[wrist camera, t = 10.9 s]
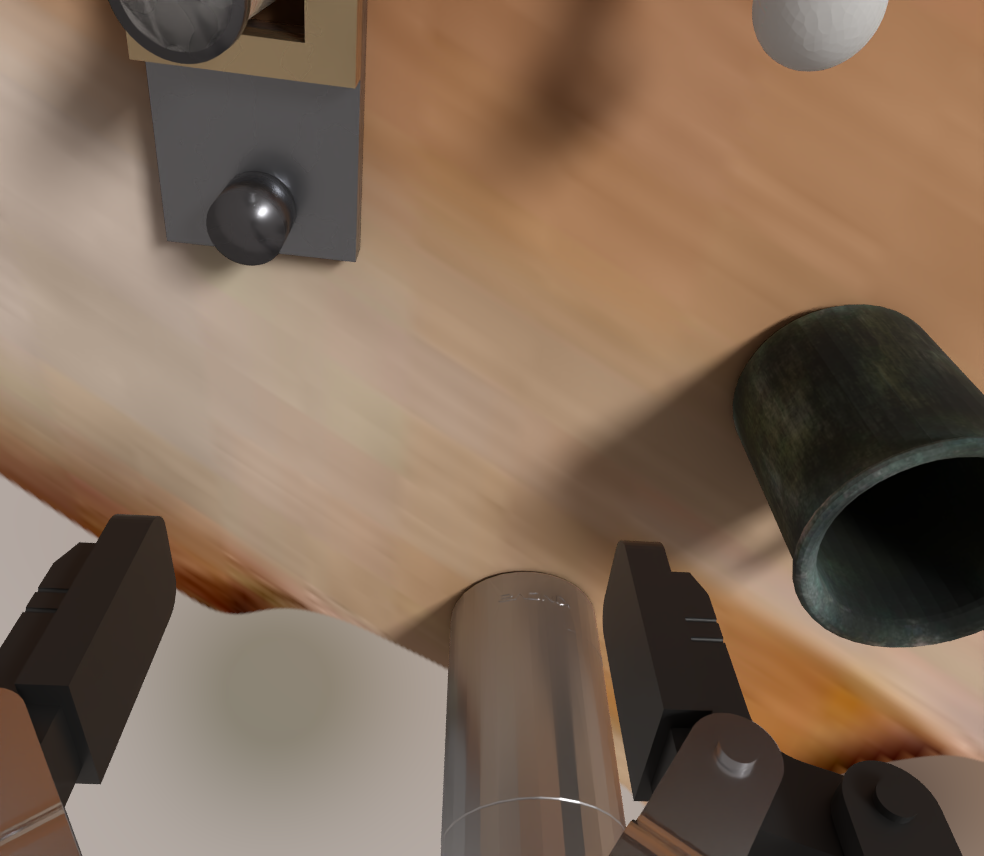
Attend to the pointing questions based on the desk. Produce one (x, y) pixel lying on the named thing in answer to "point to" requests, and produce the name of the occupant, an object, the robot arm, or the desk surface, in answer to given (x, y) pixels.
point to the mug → (871, 473)
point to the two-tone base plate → (266, 138)
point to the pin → (186, 25)
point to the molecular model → (815, 30)
